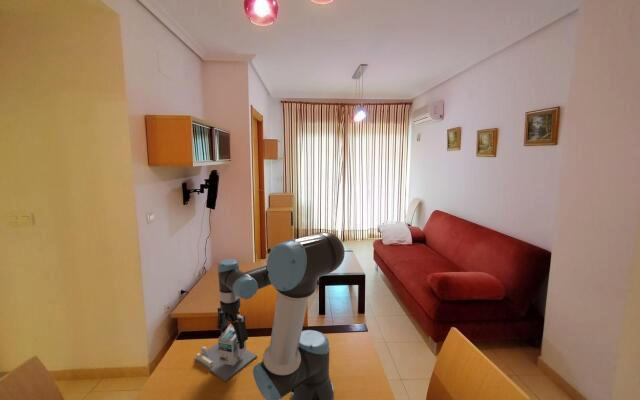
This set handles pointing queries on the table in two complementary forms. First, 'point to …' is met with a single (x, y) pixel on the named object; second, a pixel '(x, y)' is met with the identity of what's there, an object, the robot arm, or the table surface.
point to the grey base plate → (222, 370)
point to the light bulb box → (228, 346)
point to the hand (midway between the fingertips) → (233, 350)
